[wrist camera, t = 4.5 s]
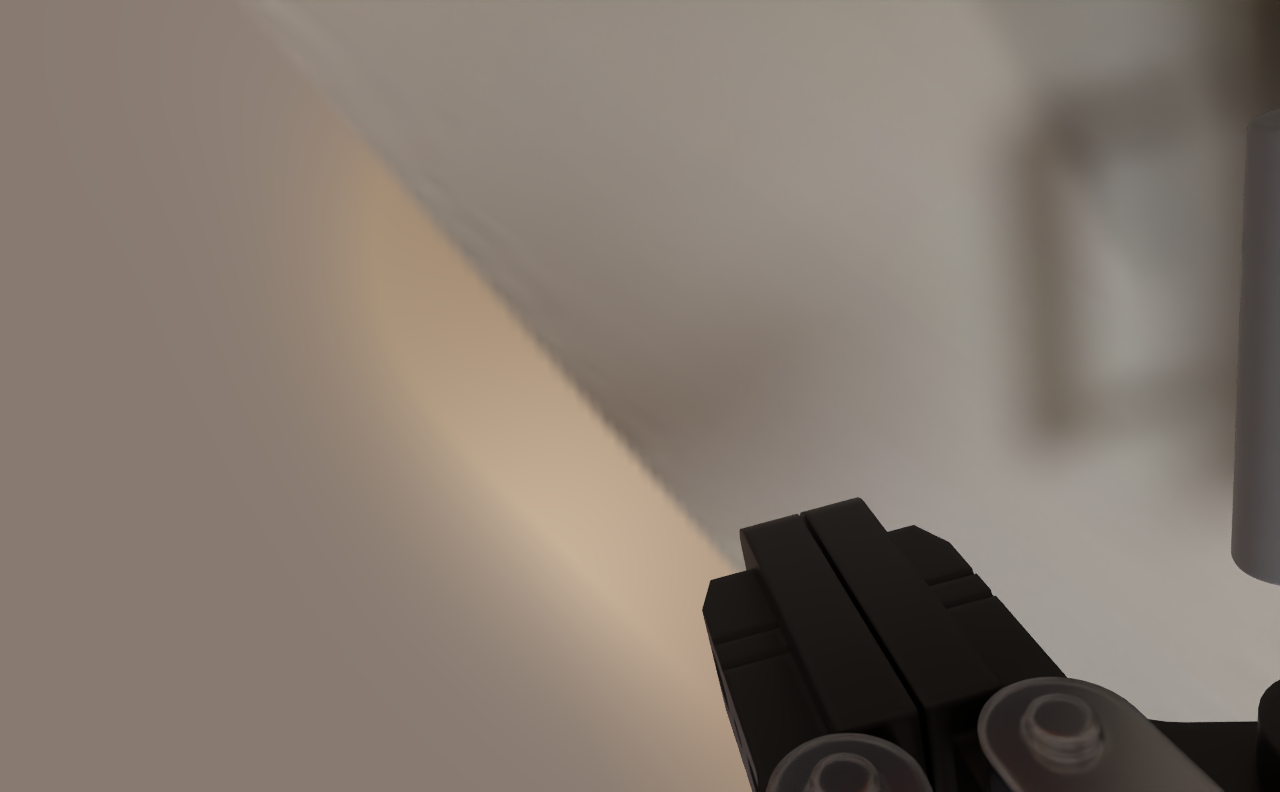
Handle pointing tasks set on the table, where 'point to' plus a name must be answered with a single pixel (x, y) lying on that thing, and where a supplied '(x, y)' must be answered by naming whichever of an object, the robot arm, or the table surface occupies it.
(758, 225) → the table surface
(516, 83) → the table surface
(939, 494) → the table surface
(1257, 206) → the pull-out drawer
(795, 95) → the table surface
